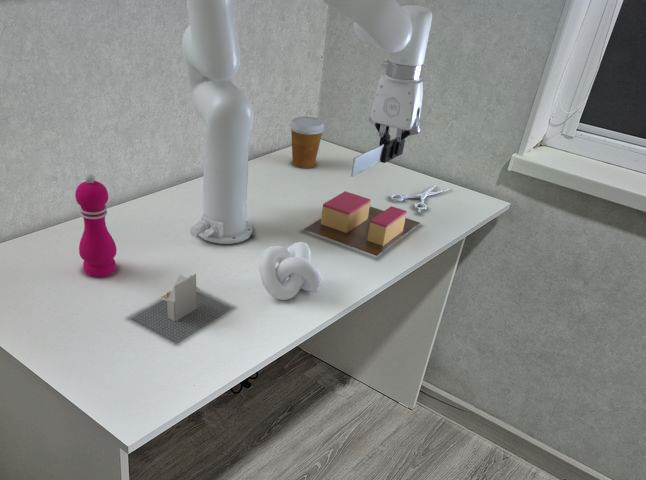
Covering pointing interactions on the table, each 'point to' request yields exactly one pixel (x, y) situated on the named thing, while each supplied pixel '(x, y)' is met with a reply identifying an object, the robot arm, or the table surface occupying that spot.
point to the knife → (373, 157)
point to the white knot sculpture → (288, 271)
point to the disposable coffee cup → (305, 140)
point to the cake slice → (386, 225)
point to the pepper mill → (95, 229)
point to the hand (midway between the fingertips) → (388, 154)
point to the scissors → (421, 196)
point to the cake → (345, 211)
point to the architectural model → (181, 311)
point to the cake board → (360, 233)
